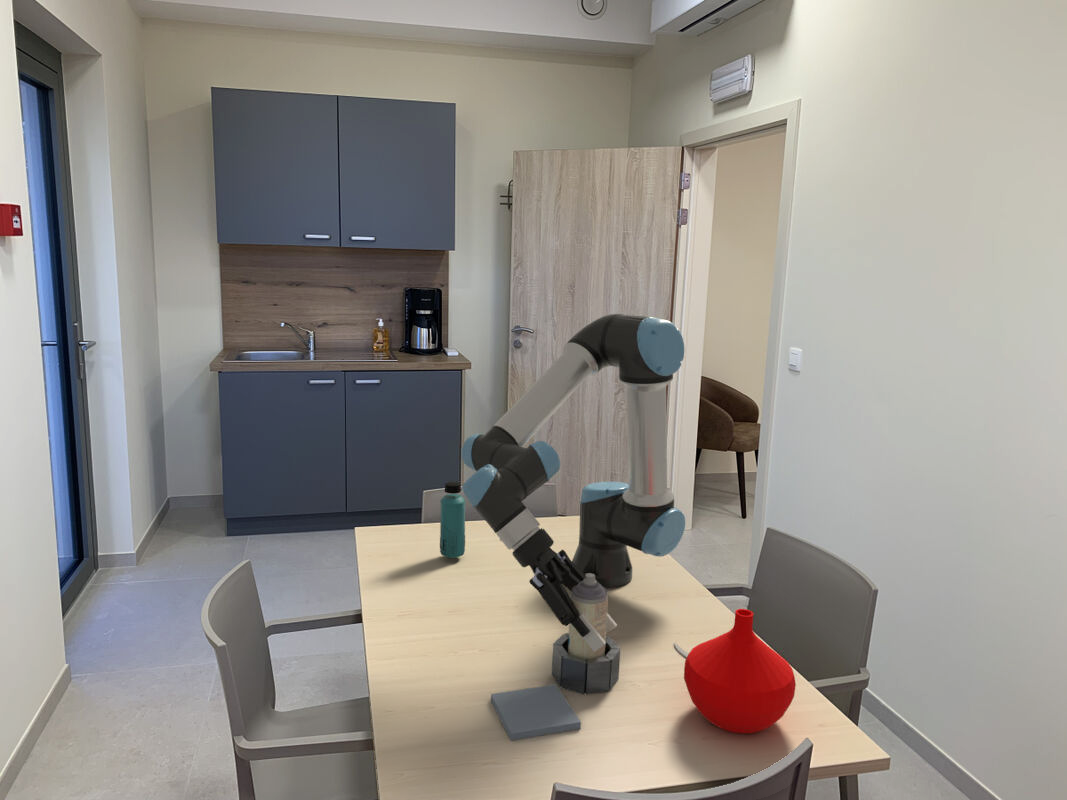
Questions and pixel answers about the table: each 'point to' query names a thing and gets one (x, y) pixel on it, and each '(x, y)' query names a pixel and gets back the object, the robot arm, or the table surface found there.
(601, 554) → the robot arm
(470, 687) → the table surface
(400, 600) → the table surface
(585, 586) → the aerosol can
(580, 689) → the ring
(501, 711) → the rubber mat
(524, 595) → the table surface
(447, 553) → the beverage bottle
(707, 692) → the vase
